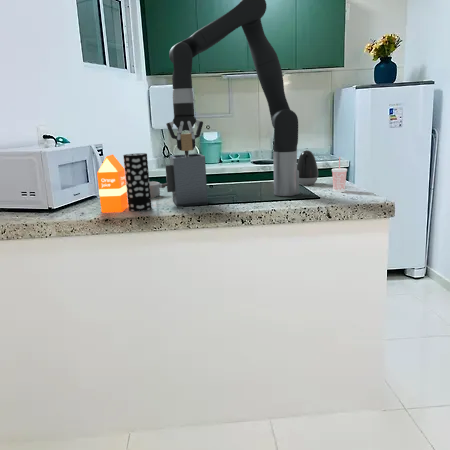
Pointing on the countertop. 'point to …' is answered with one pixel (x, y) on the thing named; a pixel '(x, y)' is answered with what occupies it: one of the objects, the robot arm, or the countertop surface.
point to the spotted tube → (137, 182)
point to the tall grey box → (187, 180)
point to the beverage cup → (339, 178)
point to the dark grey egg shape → (307, 168)
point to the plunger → (186, 143)
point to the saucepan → (156, 188)
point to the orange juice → (112, 186)
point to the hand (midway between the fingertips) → (186, 149)
